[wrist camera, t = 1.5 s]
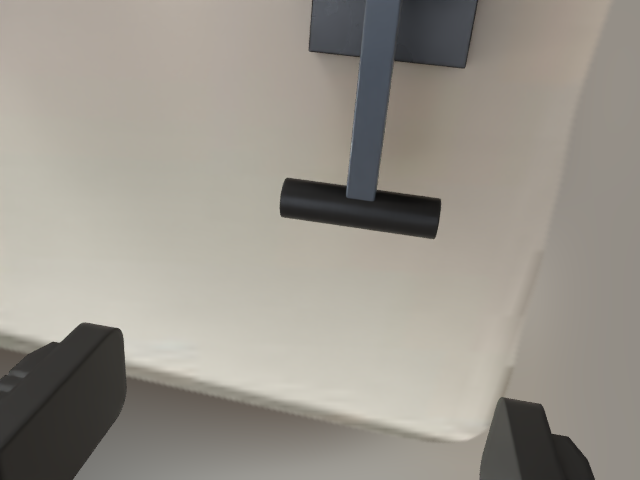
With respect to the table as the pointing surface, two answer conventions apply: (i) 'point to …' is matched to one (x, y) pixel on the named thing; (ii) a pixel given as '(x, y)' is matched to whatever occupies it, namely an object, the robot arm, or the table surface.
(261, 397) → the table surface
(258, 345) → the table surface
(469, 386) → the table surface
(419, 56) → the hinge bracket
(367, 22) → the grey black t-shaped bar
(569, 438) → the robot arm
